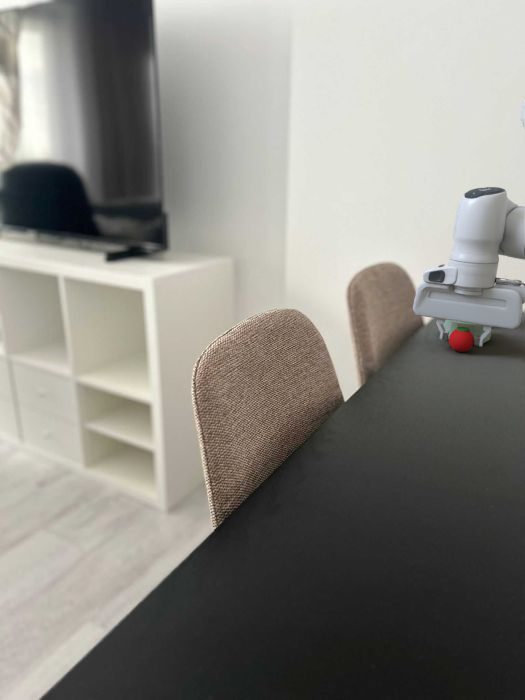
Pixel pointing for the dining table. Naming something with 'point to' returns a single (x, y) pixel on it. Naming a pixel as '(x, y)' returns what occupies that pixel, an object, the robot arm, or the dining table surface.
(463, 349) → the tomato
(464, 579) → the dining table surface
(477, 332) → the bowl
